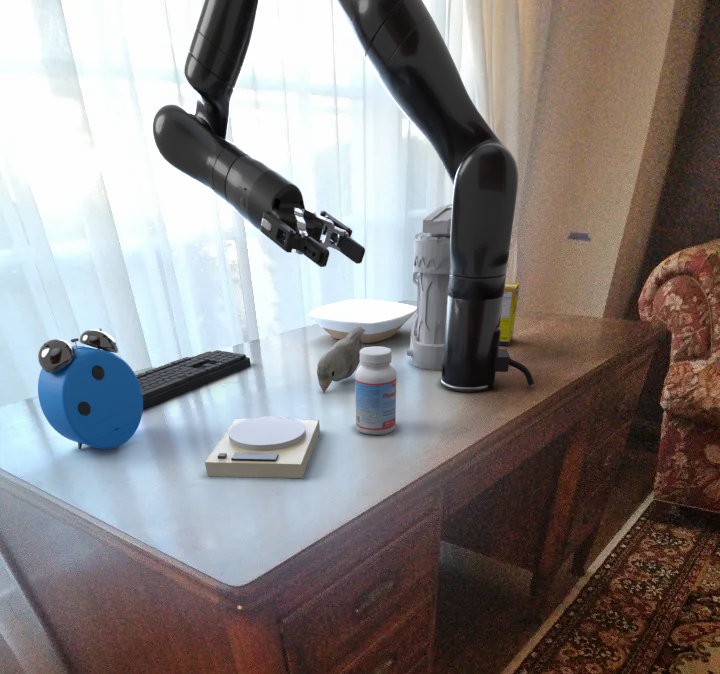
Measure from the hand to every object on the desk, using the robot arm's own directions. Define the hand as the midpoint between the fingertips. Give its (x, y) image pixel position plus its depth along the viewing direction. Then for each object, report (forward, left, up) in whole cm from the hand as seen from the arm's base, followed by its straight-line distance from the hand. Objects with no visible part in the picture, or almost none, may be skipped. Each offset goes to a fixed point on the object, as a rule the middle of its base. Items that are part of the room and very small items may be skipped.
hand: (344, 258), depth 82 cm
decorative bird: (+3, -16, -21) cm, 27 cm away
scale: (+10, +18, -21) cm, 30 cm away
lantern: (-15, -29, -21) cm, 39 cm away
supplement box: (-28, -44, -21) cm, 56 cm away
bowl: (+2, -49, -21) cm, 53 cm away
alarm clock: (+35, +16, -21) cm, 44 cm away
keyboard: (+35, -11, -21) cm, 43 cm away
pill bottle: (-5, +8, -21) cm, 24 cm away
